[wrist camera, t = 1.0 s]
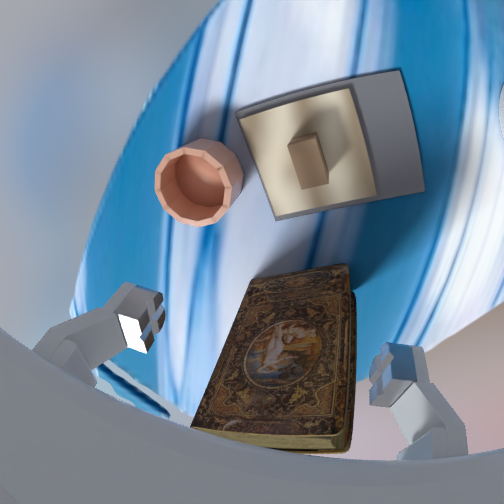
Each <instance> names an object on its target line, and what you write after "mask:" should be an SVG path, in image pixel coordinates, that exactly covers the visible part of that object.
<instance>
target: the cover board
mask: <svg viewBox="0 0 504 504" xmlns="http://www.w3.org/2000/svg"><path fill="white" fill-rule="evenodd" d="M240 122H241V124H242V127H243V130H244V132H245V135H246V137H247V140H248V142H249V145H250V148H251V150H252V153H253V156H254V158H255V161H256V164H257V166H258V169H259V172H260V174H261V177H262V180H263V182H264V185H265V188H266V190H267V193H268V196H269V199H270V201H271V204H272V207H273V210H274V213H275V215H276V216H280V215H285V214H289V213H294V212H298V211H303V210H308V209H312V208H317V207H322V206H327V205H331V204H336V203H341V202H346V201H351V200H356V199H361V198H366V197H371V196H376V195H377V194H376V189H375V184H374V179H373V175H372V170H371V166H370V161H369V157H368V153H367V149H366V145H365V141H364V137H363V134H362V130H361V126H360V123H359V119H358V116H357V112H356V109H355V106H354V103H353V99H352V96H351V93H350V90H349V88H348V89H343V90H339V91H334V92H330V93H326V94H322V95H318V96H314V97H310V98H307V99H303V100H299V101H296V102H292V103H289V104H286V105H282V106H279V107H276V108H272V109H269V110H266V111H263V112H260V113H257V114H254V115H251V116H248V117H245V118H242V119H240Z"/></svg>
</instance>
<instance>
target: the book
mask: <svg viewBox="0 0 504 504" xmlns="http://www.w3.org/2000/svg"><path fill="white" fill-rule="evenodd" d="M356 360H357V312H356V297H355V293H354V292H353V291H350V271H349V267H348V265H347V264H337V265H331V266H325V267H320V268H314V269H309V270H304V271H298V272H293V273H288V274H282V275H277V276H271V277H266V278H260V279H254V280H251V281H250V283H249V286H248V288H247V290H246V293H245V295H244V298H243V300H242V303H241V305H240V308H239V310H238V313H237V315H236V317H235V320H234V322H233V325H232V327H231V330H230V332H229V335H228V337H227V339H226V342H225V344H224V347H223V349H222V352H221V354H220V356H219V359H218V361H217V364H216V366H215V368H214V371H213V373H212V376H211V378H210V381H209V383H208V385H207V388H206V390H205V393H204V395H203V397H202V400H201V402H200V405H199V407H198V409H197V412H196V414H195V416H194V419H193V421H192V424H191V426H190V428H193V429H196V430H199V431H202V432H206V433H209V434H212V435H216V436H219V437H223V438H227V439H230V440H234V441H238V442H242V443H246V444H251V445H255V446H260V447H265V448H270V449H275V450H280V451H286V452H292V453H298V454H338V453H345V452H347V451H348V450H349V448H350V445H351V440H352V431H353V419H354V405H355V386H356Z"/></svg>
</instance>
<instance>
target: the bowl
mask: <svg viewBox="0 0 504 504" xmlns="http://www.w3.org/2000/svg"><path fill="white" fill-rule="evenodd" d="M243 176H244V173H243V171H242V168H241V166H240V163H239V160H238V158H237V155H236V154H235V153H233V152H232V151H231V150H230V149H229V148H227V147H226V146H225V145H224V144H223V143H221V142H220V141H214V140H209V139H203V138H200V139H197V140H195V141H193V142H190V143H188V144H185V145H183V146H181V147H179V148H177V149H175V150H173V151H172V152H170V153H168V154H166V155H165V156H164V158H163V159H162V161H161V163H160V164H159V166H158V167H157V169H156V171H155V192H156V194H157V196H158V198H159V200H160V202H161V204H162V206H163V209H164V210H165V211H167V212H168V213H169V214H170V215H171V216H173V217H174V218H175V219H176V220H177V221H179V222H181V223H184V224H188V225H192V226H196V227H201V226H205V225H209V224H213V223H217V221H218V220H219V219H220V218H221V217H222V216H223V215H224V214H225V212H226V211H227V210H228V209H229V208H230V207H231V205H232V204H233V203H234V201H235V200H236V199H237V197H238V196H239V195H240V193H241V189H242V183H243Z"/></svg>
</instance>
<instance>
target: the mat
mask: <svg viewBox="0 0 504 504" xmlns="http://www.w3.org/2000/svg"><path fill="white" fill-rule="evenodd" d="M348 88H349V90H350V93H351V96H352V99H353V103H354V106H355V109H356V112H357V116H358V119H359V123H360V126H361V130H362V134H363V137H364V141H365V145H366V149H367V153H368V157H369V161H370V166H371V170H372V175H373V179H374V184H375V189H376V194H377V195H376V196H371V197H366V198H361V199H356V200H351V201H346V202H341V203H336V204H331V205H327V206H322V207H317V208H312V209H308V210H303V211H298V212H294V213H289V214H285V215H280V216H276V215H275V213H274V210H273V207H272V204H271V201H270V199H269V196H268V193H267V190H266V188H265V185H264V182H263V180H262V177H261V174H260V172H259V169H258V166H257V164H256V161H255V158H254V156H253V153H252V150H251V148H250V145H249V142H248V140H247V137H246V135H245V132H244V130H243V127H242V124H241V122H240V119H242V118H245V117H248V116H251V115H254V114H257V113H260V112H263V111H266V110H269V109H272V108H276V107H279V106H282V105H286V104H289V103H292V102H296V101H299V100H303V99H307V98H310V97H314V96H318V95H322V94H326V93H330V92H334V91H339V90H343V89H348ZM235 114H236V117H237V119H238V122H239V125H240V127H241V130H242V132H243V135H244V137H245V140H246V143H247V145H248V148H249V150H250V153H251V156H252V158H253V161H254V163H255V166H256V169H257V171H258V174H259V177H260V179H261V182H262V185H263V188H264V190H265V193H266V196H267V198H268V201H269V204H270V207H271V209H272V212H273V215H274V218H275V220H276V221H279V220H284V219H288V218H293V217H298V216H303V215H307V214H312V213H317V212H322V211H327V210H331V209H336V208H341V207H346V206H351V205H356V204H361V203H366V202H372V201H377V200H382V199H387V198H392V197H398V196H403V195H409V194H414V193H419V192H425V186H424V178H423V171H422V165H421V159H420V153H419V147H418V142H417V137H416V132H415V127H414V123H413V118H412V114H411V110H410V106H409V102H408V98H407V95H406V91H405V87H404V84H403V80H402V77H401V74H400V71H392V72H386V73H380V74H374V75H369V76H363V77H358V78H353V79H349V80H344V81H340V82H335V83H331V84H327V85H323V86H319V87H315V88H311V89H307V90H304V91H300V92H297V93H293V94H290V95H286V96H283V97H280V98H276V99H273V100H270V101H267V102H264V103H261V104H258V105H255V106H252V107H249V108H246V109H243V110H241V111H238V112H235Z"/></svg>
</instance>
